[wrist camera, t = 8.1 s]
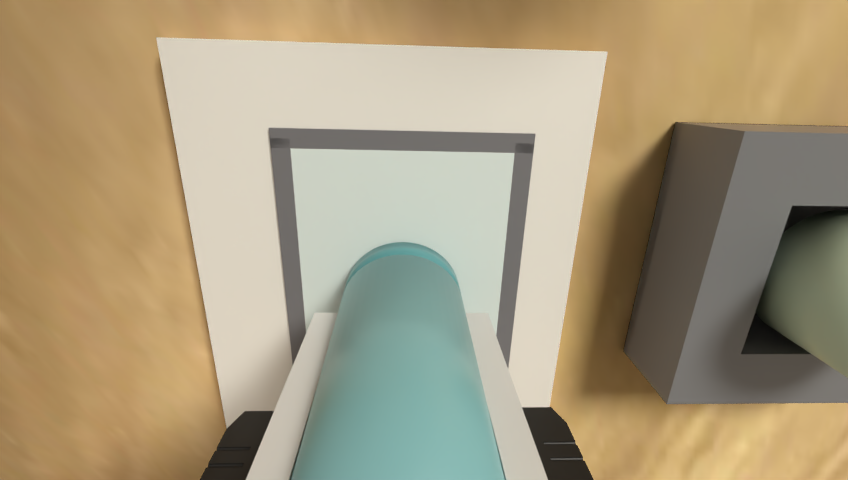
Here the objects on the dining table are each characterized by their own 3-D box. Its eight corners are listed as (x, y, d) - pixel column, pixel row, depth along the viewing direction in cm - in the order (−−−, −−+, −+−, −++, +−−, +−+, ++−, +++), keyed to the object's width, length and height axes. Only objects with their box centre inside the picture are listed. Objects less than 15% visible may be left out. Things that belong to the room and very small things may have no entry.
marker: (340, 240, 14) (32, 1045, 2) (463, 240, 14) (710, 994, 3) (347, 342, 15) (178, 1116, 4) (457, 341, 15) (593, 1082, 4)
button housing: (675, 122, 14) (744, 131, 11) (930, 128, 14) (1061, 138, 11) (623, 351, 17) (666, 404, 14) (834, 350, 17) (917, 402, 14)
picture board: (169, 40, 12) (154, 36, 12) (597, 53, 13) (609, 51, 12) (236, 431, 17) (228, 446, 17) (538, 428, 18) (544, 442, 17)
